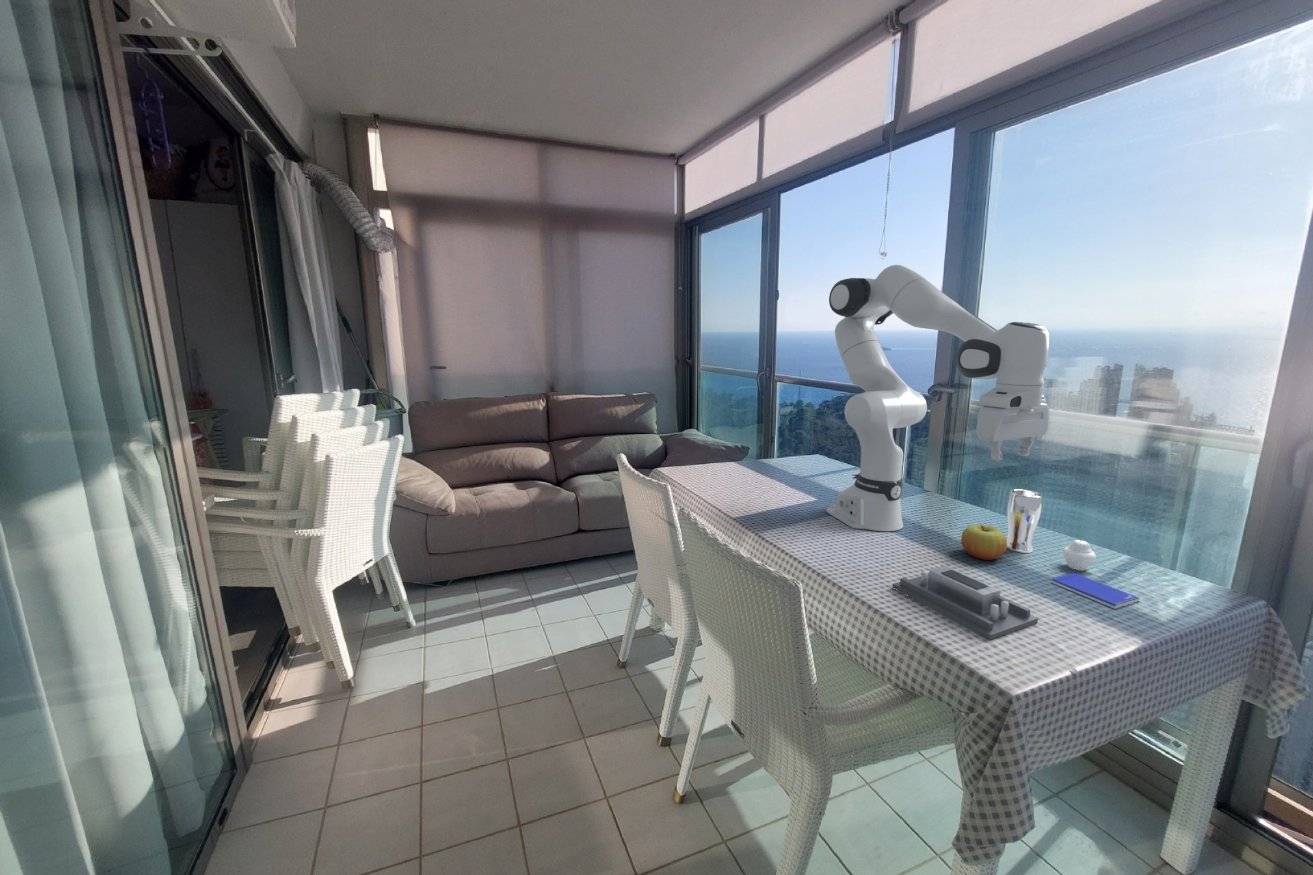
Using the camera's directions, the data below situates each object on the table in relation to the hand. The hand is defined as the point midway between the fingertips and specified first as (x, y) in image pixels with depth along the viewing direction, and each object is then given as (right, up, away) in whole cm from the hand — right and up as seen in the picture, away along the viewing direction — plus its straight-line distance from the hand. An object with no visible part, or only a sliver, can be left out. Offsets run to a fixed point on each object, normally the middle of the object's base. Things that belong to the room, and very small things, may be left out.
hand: (1009, 457), depth 121 cm
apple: (+1, -25, +13) cm, 28 cm away
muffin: (+20, -27, +6) cm, 34 cm away
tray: (-18, -30, -11) cm, 36 cm away
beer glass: (+13, -24, +17) cm, 33 cm away
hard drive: (+14, -30, -6) cm, 33 cm away
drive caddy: (-18, -29, -11) cm, 36 cm away
